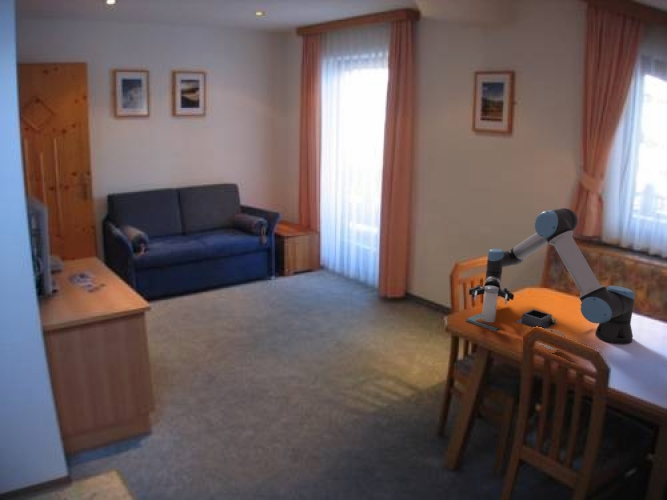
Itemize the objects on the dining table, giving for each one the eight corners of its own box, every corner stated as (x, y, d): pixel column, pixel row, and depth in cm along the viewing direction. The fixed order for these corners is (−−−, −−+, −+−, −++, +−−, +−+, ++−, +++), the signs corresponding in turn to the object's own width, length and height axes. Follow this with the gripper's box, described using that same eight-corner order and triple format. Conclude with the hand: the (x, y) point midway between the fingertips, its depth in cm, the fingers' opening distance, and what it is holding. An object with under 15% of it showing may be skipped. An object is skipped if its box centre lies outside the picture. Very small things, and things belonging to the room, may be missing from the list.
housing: (557, 326, 294) (558, 315, 292) (542, 333, 284) (543, 322, 283) (529, 317, 303) (531, 306, 302) (514, 324, 294) (515, 313, 293)
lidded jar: (557, 358, 259) (560, 336, 257) (531, 351, 266) (534, 330, 263) (565, 350, 268) (568, 329, 265) (540, 343, 274) (543, 322, 271)
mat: (510, 325, 293) (510, 322, 293) (496, 331, 285) (496, 328, 285) (480, 315, 304) (480, 313, 304) (466, 321, 296) (466, 318, 296)
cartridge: (497, 320, 295) (501, 288, 290) (490, 324, 290) (493, 290, 286) (486, 317, 299) (489, 284, 295) (478, 320, 295) (482, 287, 290)
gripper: (518, 296, 306) (518, 311, 286) (465, 290, 312) (461, 304, 293) (519, 281, 304) (519, 295, 284) (466, 275, 310) (463, 288, 291)
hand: (490, 299), depth 288 cm, fingers open, 13 cm apart
